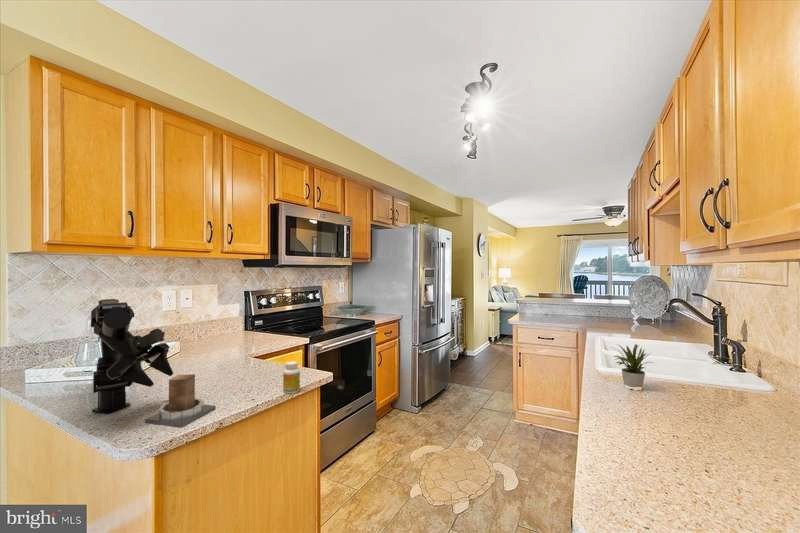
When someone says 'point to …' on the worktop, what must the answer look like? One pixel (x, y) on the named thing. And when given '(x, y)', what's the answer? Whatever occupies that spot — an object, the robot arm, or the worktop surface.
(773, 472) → the worktop surface
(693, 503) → the worktop surface
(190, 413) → the duct collar
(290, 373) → the supplement bottle
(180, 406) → the upright wooden block
